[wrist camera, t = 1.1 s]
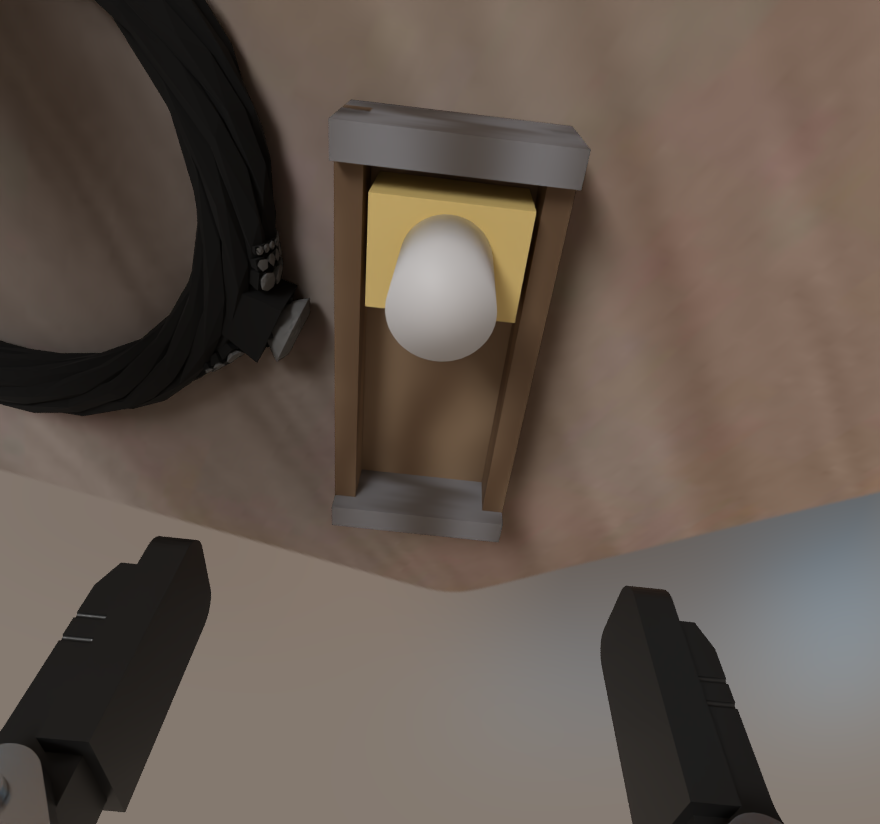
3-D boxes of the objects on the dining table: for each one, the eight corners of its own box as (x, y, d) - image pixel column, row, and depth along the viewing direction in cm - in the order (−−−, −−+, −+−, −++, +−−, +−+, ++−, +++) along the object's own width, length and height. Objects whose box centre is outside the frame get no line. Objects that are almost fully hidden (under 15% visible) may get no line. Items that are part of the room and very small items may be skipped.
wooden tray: (346, 469, 39) (332, 524, 35) (351, 99, 26) (328, 118, 22) (495, 485, 39) (498, 542, 35) (572, 126, 26) (590, 149, 22)
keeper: (375, 276, 29) (345, 362, 22) (379, 171, 26) (346, 233, 19) (510, 291, 29) (522, 382, 22) (529, 188, 26) (549, 256, 19)
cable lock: (-596, -604, 15) (424, 86, 23) (-410, -499, 18) (430, 75, 26) (-372, 275, 29) (207, 513, 37) (-289, 249, 32) (228, 473, 40)
